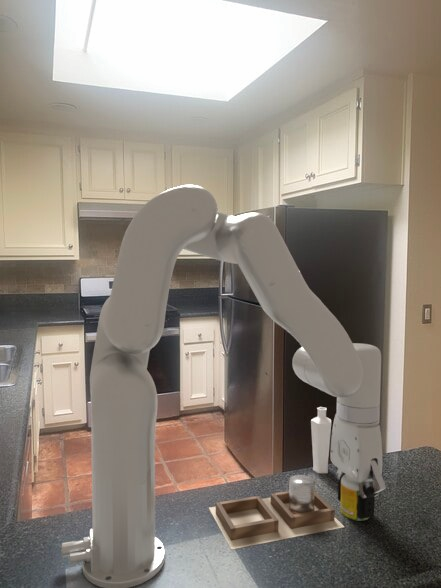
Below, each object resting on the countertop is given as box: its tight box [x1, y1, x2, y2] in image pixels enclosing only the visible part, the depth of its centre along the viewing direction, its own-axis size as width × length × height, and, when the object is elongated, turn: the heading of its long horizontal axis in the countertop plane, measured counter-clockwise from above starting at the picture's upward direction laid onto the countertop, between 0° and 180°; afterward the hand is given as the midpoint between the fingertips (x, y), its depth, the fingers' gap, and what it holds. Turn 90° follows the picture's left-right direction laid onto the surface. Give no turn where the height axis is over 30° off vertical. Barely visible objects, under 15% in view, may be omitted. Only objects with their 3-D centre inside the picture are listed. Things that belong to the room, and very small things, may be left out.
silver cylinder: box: [288, 474, 316, 515], centre depth 83 cm, size 5×5×6 cm
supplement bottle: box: [340, 474, 371, 522], centre depth 83 cm, size 5×5×10 cm
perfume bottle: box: [310, 406, 332, 474], centre depth 99 cm, size 5×4×15 cm
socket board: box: [208, 490, 345, 551], centre depth 81 cm, size 21×13×3 cm, turn 108°
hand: (355, 507), depth 83 cm, fingers closed on supplement bottle, 5 cm apart
